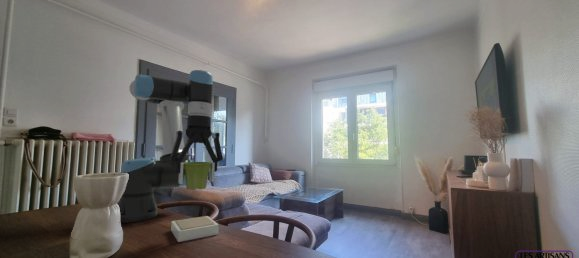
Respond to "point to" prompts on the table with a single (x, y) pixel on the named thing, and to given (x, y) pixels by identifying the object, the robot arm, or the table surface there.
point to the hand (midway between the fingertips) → (196, 182)
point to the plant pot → (196, 174)
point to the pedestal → (194, 228)
